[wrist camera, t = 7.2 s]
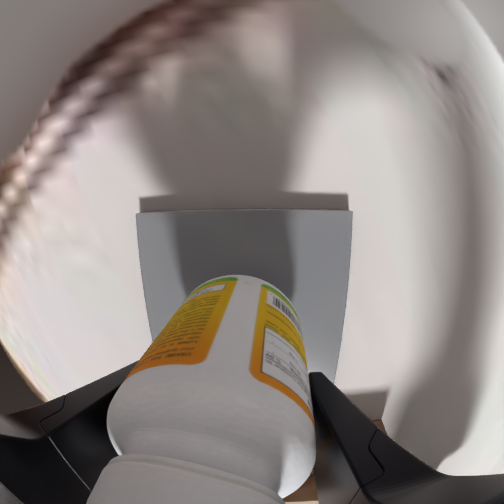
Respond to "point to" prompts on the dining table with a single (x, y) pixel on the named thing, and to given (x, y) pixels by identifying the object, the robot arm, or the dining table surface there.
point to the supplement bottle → (215, 404)
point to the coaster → (253, 264)
